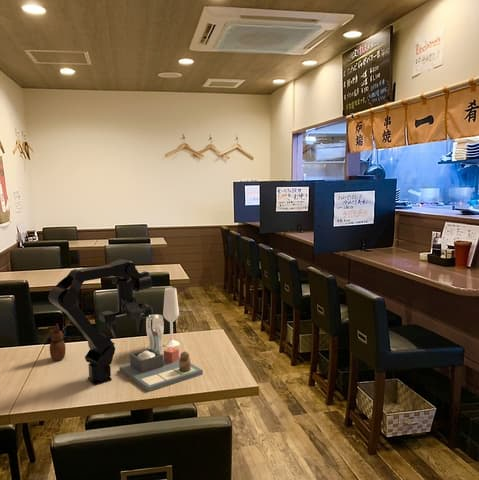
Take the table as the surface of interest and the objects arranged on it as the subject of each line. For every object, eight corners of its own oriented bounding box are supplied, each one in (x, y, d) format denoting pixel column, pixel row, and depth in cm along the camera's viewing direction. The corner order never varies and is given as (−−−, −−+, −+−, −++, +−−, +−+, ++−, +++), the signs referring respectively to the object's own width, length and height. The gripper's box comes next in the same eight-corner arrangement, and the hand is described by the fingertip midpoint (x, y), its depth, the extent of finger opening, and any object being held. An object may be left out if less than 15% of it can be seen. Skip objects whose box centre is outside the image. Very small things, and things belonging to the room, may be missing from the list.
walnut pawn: (183, 373, 169) (182, 354, 168) (177, 369, 173) (177, 351, 172) (192, 370, 172) (192, 352, 171) (186, 366, 175) (186, 348, 174)
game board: (148, 391, 159) (147, 374, 158) (119, 370, 176) (118, 354, 175) (202, 373, 172) (202, 358, 172) (171, 355, 189) (170, 341, 188)
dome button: (142, 367, 171) (142, 355, 170) (134, 362, 176) (134, 350, 175) (158, 363, 175) (158, 351, 174) (150, 357, 180) (149, 346, 179)
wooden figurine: (66, 361, 184) (64, 323, 182) (50, 363, 182) (48, 325, 180) (65, 354, 190) (63, 318, 188) (50, 357, 188) (48, 320, 186)
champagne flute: (164, 347, 198) (163, 291, 195) (162, 341, 204) (161, 287, 201) (180, 346, 200) (179, 290, 196) (178, 340, 206) (177, 286, 203)
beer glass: (166, 349, 196) (165, 314, 194) (161, 356, 189) (160, 319, 187) (149, 348, 197) (148, 313, 194) (144, 355, 190) (143, 319, 188)
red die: (172, 362, 179) (172, 352, 178) (164, 360, 181) (163, 350, 180) (178, 359, 182) (178, 349, 181) (170, 357, 184) (170, 347, 183)
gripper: (110, 303, 161) (112, 347, 163) (159, 294, 172) (160, 335, 174) (97, 296, 169) (99, 338, 171) (144, 288, 181) (145, 328, 183)
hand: (127, 335), depth 175 cm, fingers open, 9 cm apart
